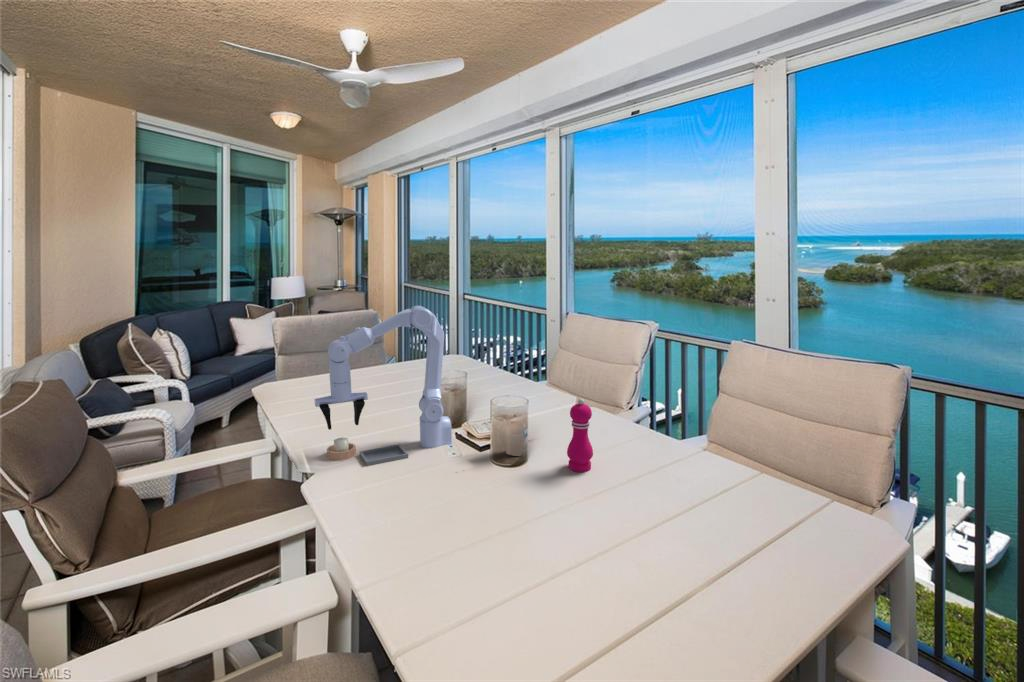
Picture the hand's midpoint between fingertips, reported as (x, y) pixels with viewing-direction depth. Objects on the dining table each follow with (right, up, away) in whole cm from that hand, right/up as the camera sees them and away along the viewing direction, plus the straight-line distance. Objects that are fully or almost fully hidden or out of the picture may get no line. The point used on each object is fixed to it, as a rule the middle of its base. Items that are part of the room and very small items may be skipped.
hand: (343, 426), depth 144 cm
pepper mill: (+69, -11, -7) cm, 70 cm away
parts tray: (+12, -10, -1) cm, 16 cm away
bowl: (-1, -9, +1) cm, 9 cm away
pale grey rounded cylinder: (-1, -9, +1) cm, 9 cm away
